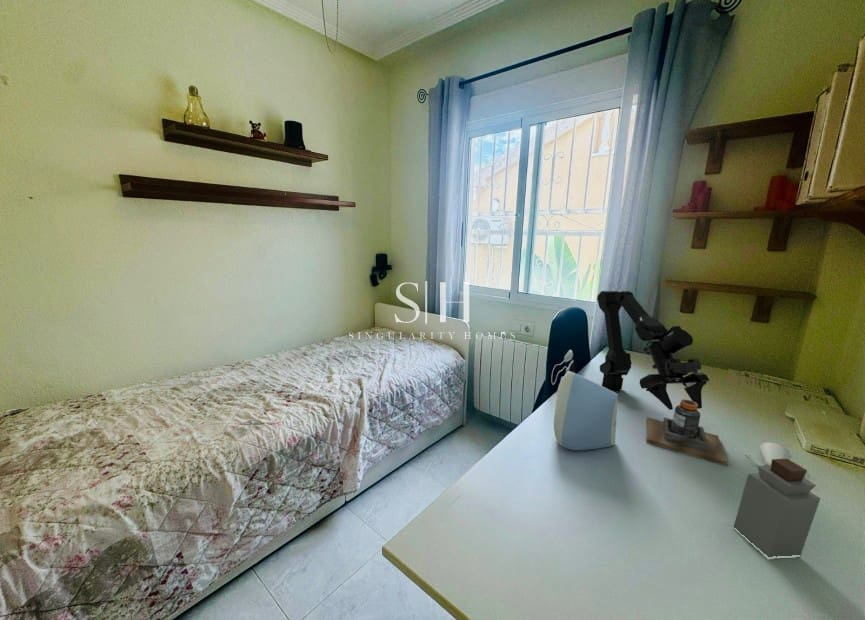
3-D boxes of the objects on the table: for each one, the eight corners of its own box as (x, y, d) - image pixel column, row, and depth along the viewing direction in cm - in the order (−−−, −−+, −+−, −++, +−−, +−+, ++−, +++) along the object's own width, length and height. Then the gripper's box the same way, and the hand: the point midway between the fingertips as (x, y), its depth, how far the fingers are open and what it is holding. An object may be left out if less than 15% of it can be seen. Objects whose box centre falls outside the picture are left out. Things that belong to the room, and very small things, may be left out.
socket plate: (646, 442, 96) (648, 431, 96) (646, 420, 108) (648, 410, 107) (726, 466, 87) (729, 453, 86) (717, 439, 99) (719, 428, 98)
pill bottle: (693, 435, 98) (701, 400, 96) (696, 445, 93) (704, 409, 91) (669, 428, 101) (676, 395, 99) (670, 438, 97) (677, 403, 94)
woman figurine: (808, 449, 88) (811, 488, 76) (803, 463, 89) (806, 503, 77) (749, 430, 96) (743, 463, 84) (745, 443, 97) (739, 477, 85)
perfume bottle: (733, 528, 69) (754, 453, 64) (762, 526, 69) (785, 452, 65) (767, 559, 62) (793, 478, 58) (799, 557, 63) (827, 477, 58)
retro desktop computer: (571, 345, 104) (631, 359, 93) (572, 401, 114) (626, 420, 102) (533, 391, 89) (599, 414, 77) (538, 452, 98) (597, 480, 87)
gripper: (653, 349, 96) (676, 402, 88) (710, 348, 98) (738, 400, 90) (630, 363, 106) (649, 412, 98) (683, 362, 108) (706, 410, 100)
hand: (685, 408), depth 96 cm, fingers open, 9 cm apart
